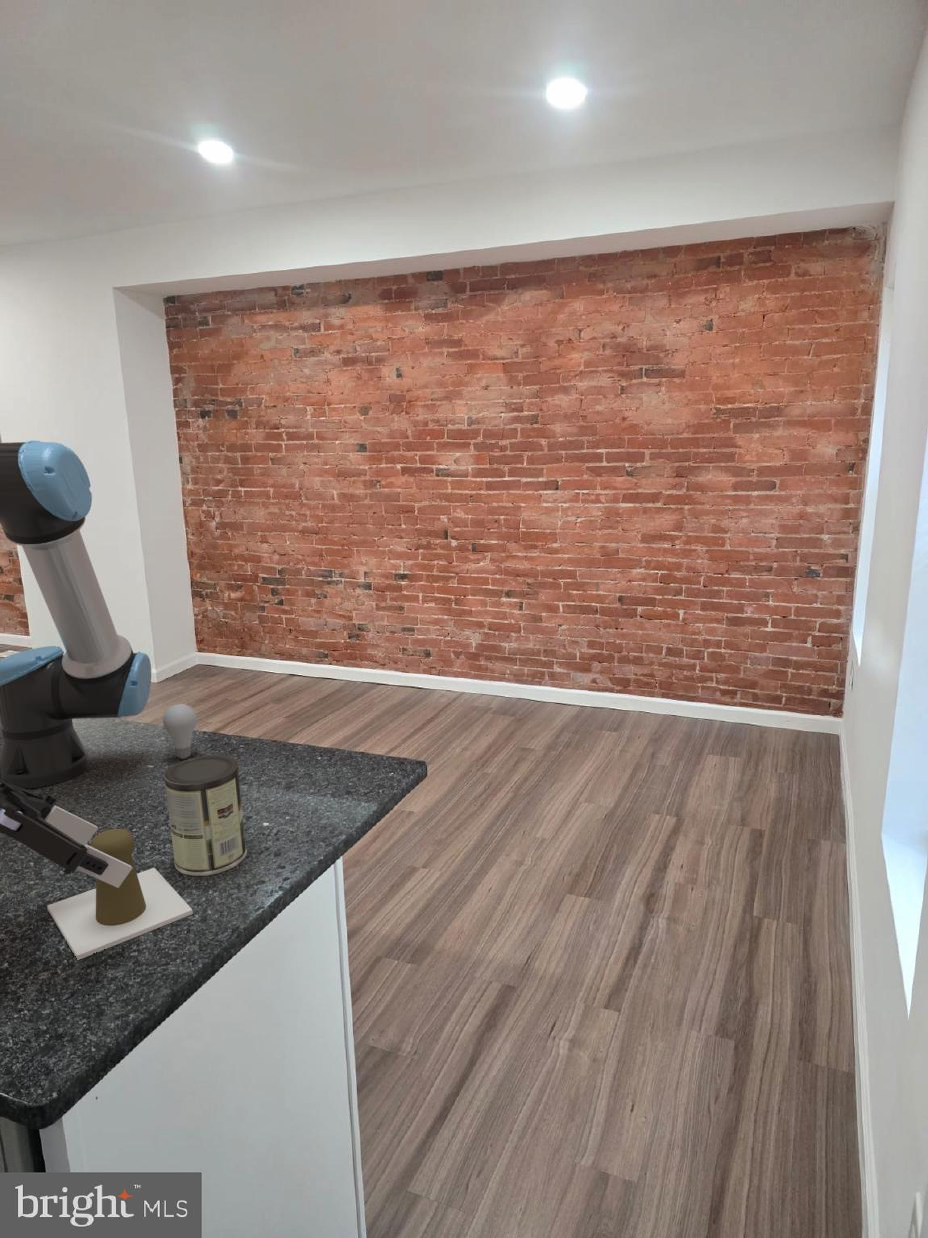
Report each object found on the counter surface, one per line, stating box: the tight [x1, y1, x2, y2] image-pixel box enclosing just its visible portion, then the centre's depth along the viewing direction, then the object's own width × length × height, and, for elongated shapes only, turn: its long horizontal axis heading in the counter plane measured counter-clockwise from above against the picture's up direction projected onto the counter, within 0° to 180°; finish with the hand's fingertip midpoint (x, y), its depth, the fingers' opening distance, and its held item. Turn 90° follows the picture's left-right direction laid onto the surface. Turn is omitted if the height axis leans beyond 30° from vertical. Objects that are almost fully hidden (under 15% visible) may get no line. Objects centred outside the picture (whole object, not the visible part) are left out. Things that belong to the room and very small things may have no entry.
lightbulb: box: [162, 703, 198, 760], centre depth 153 cm, size 6×6×11 cm
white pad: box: [47, 867, 194, 961], centre depth 104 cm, size 14×14×1 cm
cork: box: [89, 828, 146, 926], centre depth 102 cm, size 6×6×11 cm
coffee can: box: [162, 754, 248, 877], centre depth 115 cm, size 10×10×14 cm
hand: (107, 855), depth 101 cm, fingers open, 13 cm apart
